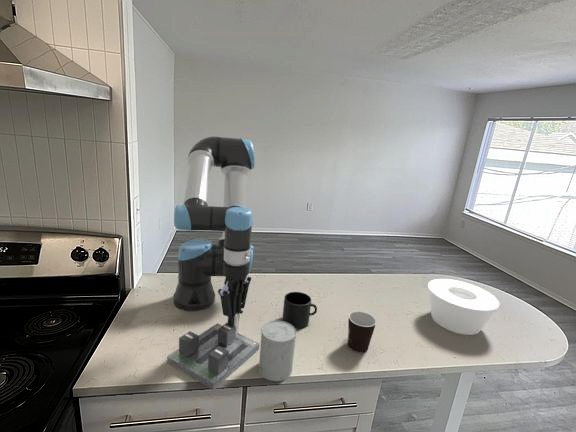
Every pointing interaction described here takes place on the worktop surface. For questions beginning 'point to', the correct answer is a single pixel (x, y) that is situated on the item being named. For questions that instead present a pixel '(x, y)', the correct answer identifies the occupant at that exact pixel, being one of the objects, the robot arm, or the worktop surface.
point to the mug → (297, 309)
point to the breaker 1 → (188, 343)
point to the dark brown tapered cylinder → (360, 331)
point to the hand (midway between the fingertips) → (233, 332)
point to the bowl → (460, 305)
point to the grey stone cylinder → (277, 350)
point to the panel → (198, 360)
